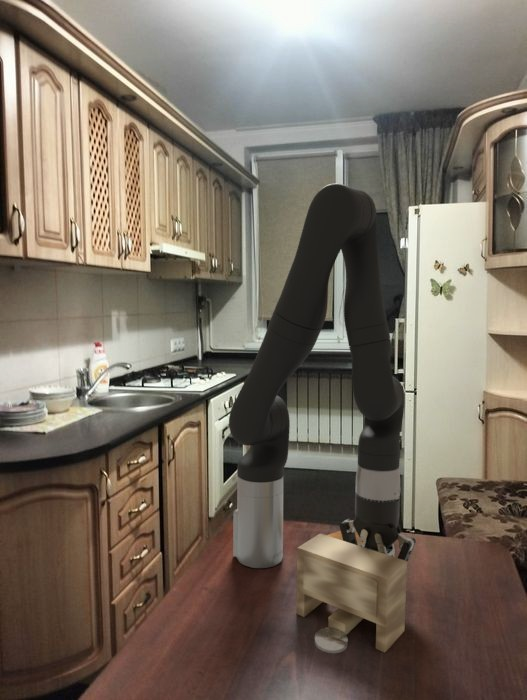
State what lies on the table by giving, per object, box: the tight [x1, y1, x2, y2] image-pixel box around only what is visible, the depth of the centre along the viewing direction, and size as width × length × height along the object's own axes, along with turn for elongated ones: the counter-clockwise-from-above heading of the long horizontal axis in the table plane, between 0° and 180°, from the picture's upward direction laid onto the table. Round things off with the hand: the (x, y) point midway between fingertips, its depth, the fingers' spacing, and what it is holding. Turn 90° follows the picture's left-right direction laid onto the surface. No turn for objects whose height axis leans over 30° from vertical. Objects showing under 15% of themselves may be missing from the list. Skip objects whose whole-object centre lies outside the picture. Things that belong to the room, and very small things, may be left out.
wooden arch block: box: [296, 533, 408, 653], centre depth 88 cm, size 16×7×12 cm, turn 52°
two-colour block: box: [327, 547, 388, 636], centre depth 91 cm, size 4×15×9 cm, turn 142°
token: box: [314, 627, 349, 654], centre depth 84 cm, size 5×5×1 cm
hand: (374, 585), depth 96 cm, fingers closed on two-colour block, 4 cm apart
